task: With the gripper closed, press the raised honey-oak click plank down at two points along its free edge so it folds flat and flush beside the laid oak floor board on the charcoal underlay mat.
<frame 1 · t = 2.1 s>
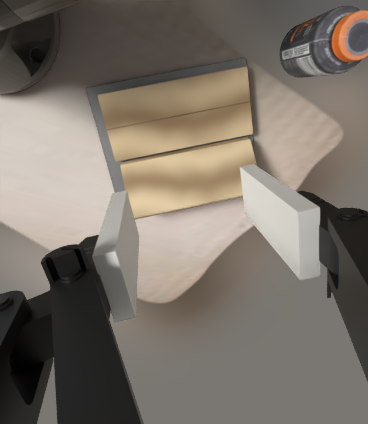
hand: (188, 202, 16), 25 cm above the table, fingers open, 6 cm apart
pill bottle: (300, 51, 38), on the table
floor board: (178, 114, 38), resting on underlay mat
underlay mat: (179, 142, 40), on the table
click plank: (191, 176, 39), point 3 cm above the table, hinge at 30.0°
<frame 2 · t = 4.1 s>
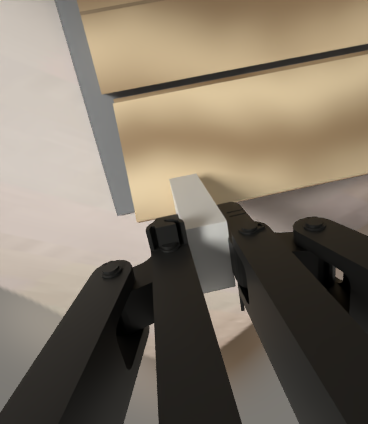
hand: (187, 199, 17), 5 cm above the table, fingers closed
underlay mat: (236, 59, 19), on the table
click plank: (264, 131, 18), point 3 cm above the table, hinge at 27.0°, touching gripper
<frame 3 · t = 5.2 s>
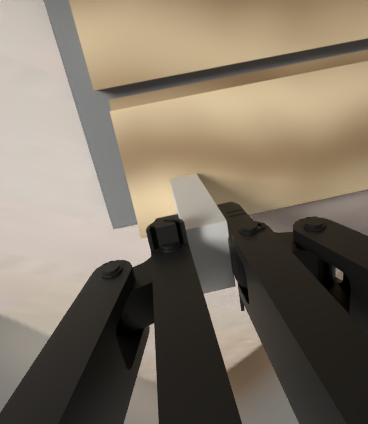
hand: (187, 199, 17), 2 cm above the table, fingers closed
underlay mat: (250, 50, 16), on the table
click plank: (274, 141, 17), point 1 cm above the table, hinge at 6.4°, touching gripper
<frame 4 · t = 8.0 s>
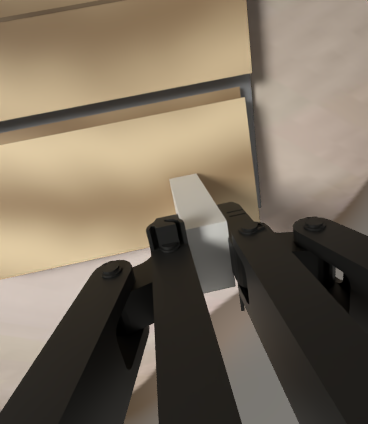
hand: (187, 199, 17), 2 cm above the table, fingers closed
floor board: (55, 19, 15), resting on underlay mat
underlay mat: (68, 97, 16), on the table
click plank: (99, 188, 17), point 1 cm above the table, hinge at 5.9°, touching gripper
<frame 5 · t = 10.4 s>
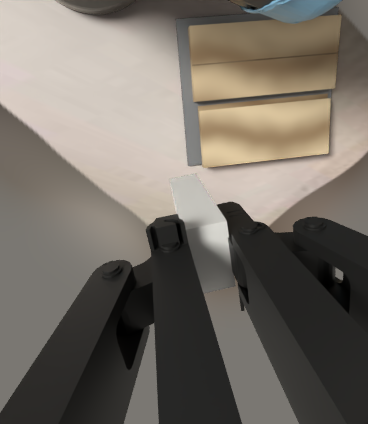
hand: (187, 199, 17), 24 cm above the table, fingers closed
floor board: (262, 60, 37), resting on underlay mat
underlay mat: (258, 91, 38), on the table
click plank: (265, 130, 39), point 1 cm above the table, hinge at 4.5°
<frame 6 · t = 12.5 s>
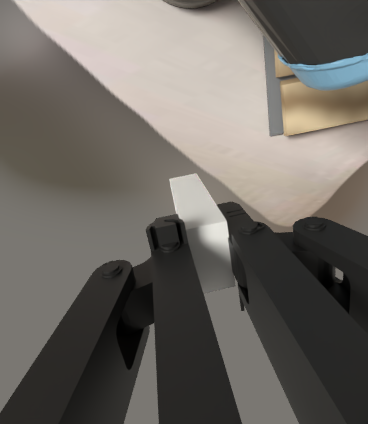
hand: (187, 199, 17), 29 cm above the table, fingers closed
underlay mat: (331, 62, 43), on the table
click plank: (339, 97, 44), point 1 cm above the table, hinge at 4.5°
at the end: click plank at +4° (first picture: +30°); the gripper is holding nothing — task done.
